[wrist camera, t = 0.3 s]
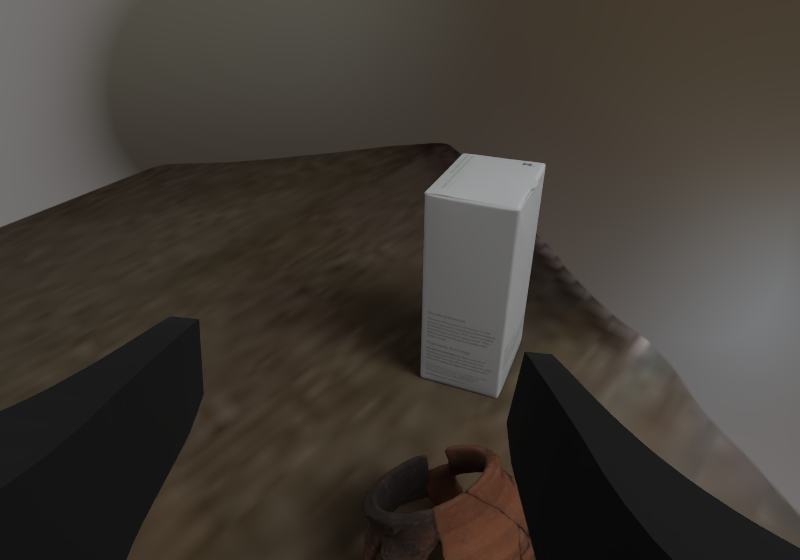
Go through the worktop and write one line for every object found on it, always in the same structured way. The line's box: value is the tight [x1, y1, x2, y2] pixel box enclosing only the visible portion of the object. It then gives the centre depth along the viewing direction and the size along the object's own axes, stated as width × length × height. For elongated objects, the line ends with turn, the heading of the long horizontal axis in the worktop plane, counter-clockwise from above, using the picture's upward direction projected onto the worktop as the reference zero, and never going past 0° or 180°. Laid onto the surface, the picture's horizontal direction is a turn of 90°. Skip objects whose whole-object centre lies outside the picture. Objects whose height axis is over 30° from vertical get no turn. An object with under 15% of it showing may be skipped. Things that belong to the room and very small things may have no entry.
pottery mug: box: [363, 445, 536, 560], centre depth 29 cm, size 12×10×8 cm
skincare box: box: [421, 154, 545, 398], centre depth 41 cm, size 8×7×16 cm
